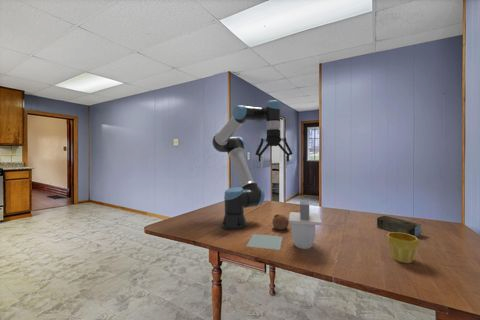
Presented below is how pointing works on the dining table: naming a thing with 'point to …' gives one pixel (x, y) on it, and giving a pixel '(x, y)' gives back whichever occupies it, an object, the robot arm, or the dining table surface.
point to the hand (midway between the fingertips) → (273, 167)
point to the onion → (280, 222)
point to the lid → (304, 215)
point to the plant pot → (402, 246)
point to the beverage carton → (399, 225)
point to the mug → (303, 235)
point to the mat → (265, 241)
